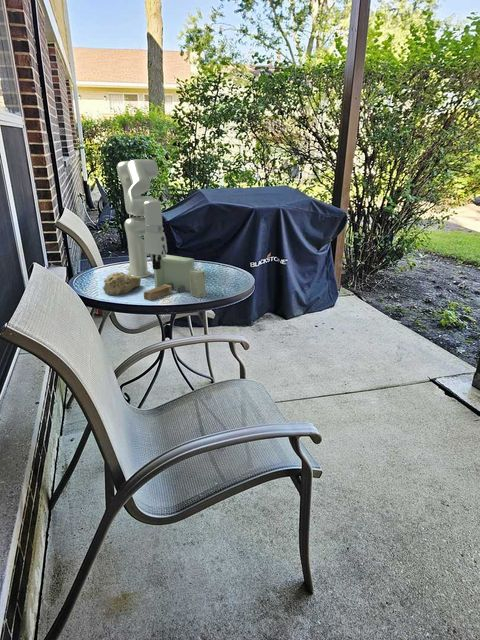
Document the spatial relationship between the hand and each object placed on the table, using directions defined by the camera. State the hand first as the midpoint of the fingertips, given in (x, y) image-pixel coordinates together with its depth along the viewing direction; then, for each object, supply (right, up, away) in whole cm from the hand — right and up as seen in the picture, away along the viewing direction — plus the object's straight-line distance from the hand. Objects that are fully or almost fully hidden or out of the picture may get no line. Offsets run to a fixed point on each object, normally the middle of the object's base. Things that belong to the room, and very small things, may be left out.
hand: (156, 268), depth 193 cm
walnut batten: (0, -12, +5) cm, 13 cm away
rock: (-20, -9, +14) cm, 26 cm away
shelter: (+6, -9, +14) cm, 18 cm away
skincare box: (+19, -12, +5) cm, 23 cm away
